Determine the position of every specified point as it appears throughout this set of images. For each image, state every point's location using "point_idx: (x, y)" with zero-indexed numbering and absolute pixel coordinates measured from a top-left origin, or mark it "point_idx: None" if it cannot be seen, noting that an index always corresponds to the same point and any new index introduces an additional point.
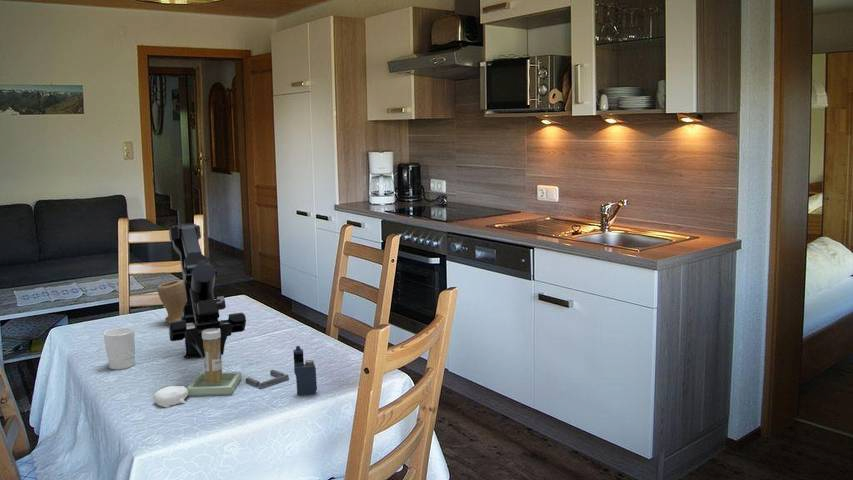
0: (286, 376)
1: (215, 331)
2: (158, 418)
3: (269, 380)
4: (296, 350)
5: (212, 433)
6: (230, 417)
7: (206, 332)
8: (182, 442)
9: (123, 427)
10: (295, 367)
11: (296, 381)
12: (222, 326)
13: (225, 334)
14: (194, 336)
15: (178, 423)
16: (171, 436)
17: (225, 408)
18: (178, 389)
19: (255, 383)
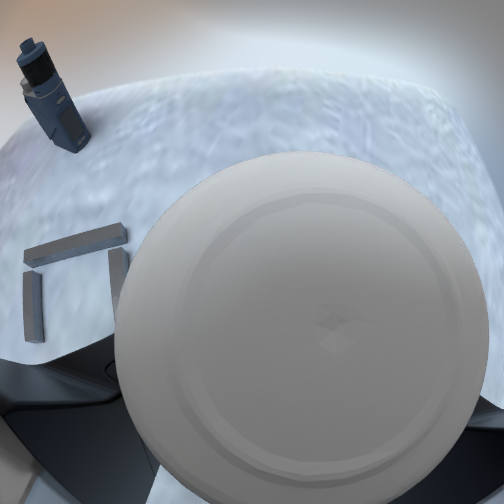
0: (31, 249)
1: (264, 182)
2: (447, 198)
3: (80, 240)
4: (35, 46)
5: (337, 72)
6: (288, 102)
7: (438, 220)
8: (389, 79)
9: (496, 202)
10: (61, 81)
11: (76, 111)
12: (15, 385)
13: (75, 362)
14: (494, 414)
15: (404, 143)
16: (410, 105)
17: (284, 149)
18: None
19: (123, 255)
